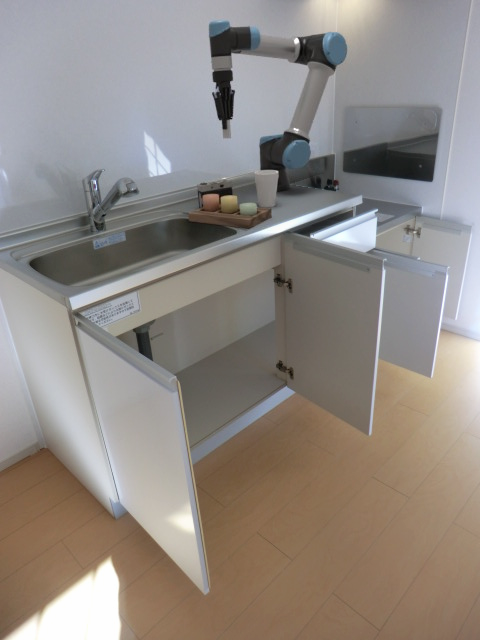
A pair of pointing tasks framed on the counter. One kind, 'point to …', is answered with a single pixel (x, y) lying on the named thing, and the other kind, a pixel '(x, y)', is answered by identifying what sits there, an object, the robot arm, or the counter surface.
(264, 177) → the foam cup
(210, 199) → the pink short cylinder
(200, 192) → the camera
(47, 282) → the counter surface
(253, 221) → the walnut board
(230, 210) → the yellow short cylinder
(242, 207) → the pale green cylinder
